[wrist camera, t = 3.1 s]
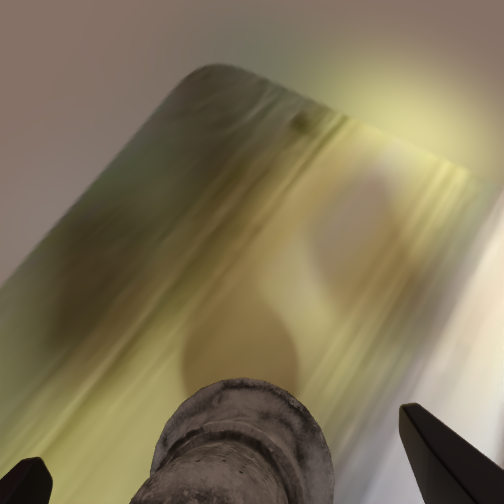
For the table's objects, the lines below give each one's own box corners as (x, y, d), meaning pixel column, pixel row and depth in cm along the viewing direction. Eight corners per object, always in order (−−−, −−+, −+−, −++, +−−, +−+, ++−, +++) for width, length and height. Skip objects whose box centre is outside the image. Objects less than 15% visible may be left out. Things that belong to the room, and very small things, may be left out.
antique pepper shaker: (251, 352, 17) (200, 263, 6) (353, 462, 15) (579, 656, 4) (148, 454, 15) (-185, 602, 4) (245, 587, 14) (107, 1421, 3)
